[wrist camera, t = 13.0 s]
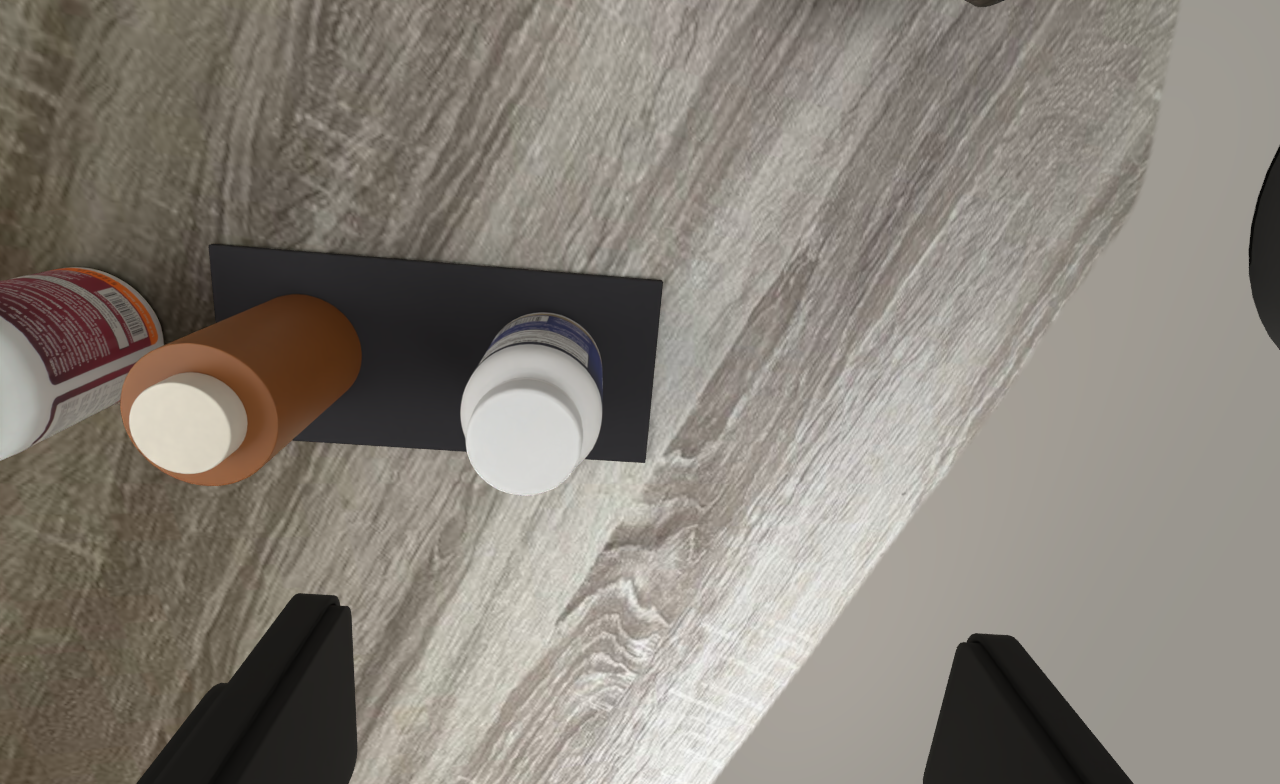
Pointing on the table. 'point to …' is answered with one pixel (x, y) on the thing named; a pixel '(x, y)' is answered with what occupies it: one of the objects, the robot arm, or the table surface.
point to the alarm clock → (983, 2)
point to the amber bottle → (239, 388)
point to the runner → (449, 337)
